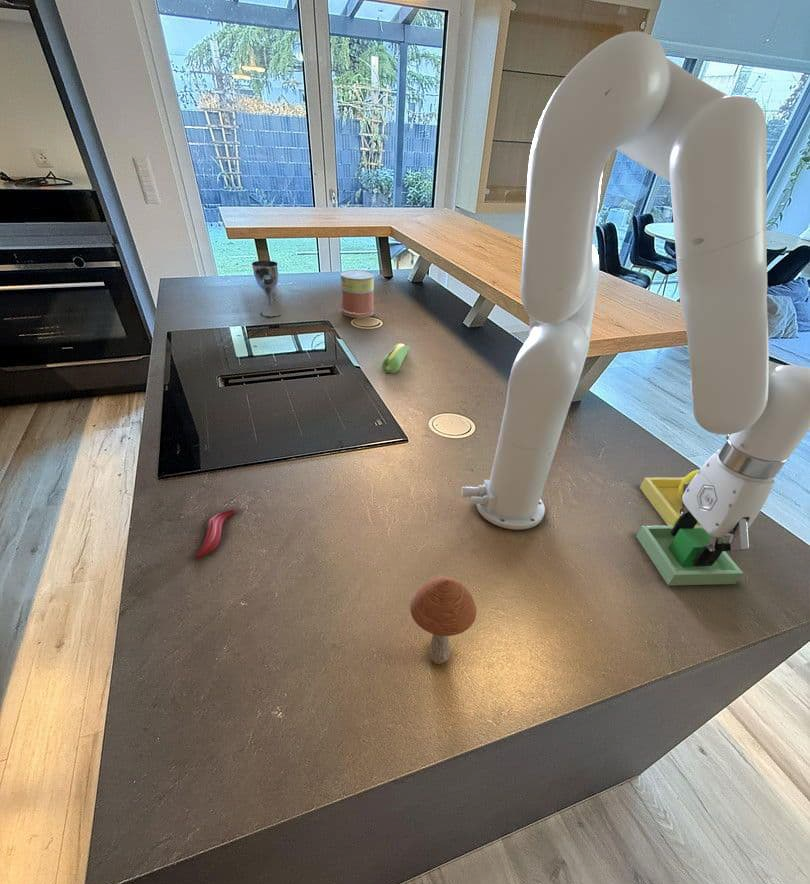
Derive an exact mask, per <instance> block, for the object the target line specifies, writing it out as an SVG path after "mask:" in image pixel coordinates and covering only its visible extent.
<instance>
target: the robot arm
mask: <svg viewBox="0 0 810 884" xmlns="http://www.w3.org/2000/svg"><path fill="white" fill-rule="evenodd" d="M615 150H616V151H618V152H619V153H621V154H623V155H625V156H626V157H627V158H629V159H630V160H632V161H634V162H635V163H636V164H638V165H640V166H642V168H645V169H647V170H648V171H650V172H651V173H653V174H654V175H656V176H658V177H659V178H661V179H663V180H665V181H667V182H669V184H670V185H669V187H670V196H671V197H670V201H671V211H672V212H671V213H672V222H673V236H674V244H675V245H674V246H675V261H676V272H677V273H676V274H677V284H678V295H679V303H680V309H681V313H682V317H683V321H684V325H685V332H686V338H687V347H688V358H689V369H690V380H689V381H690V382H689V383H690V384H689V385H690V396H691V400H692V401H691V402H692V413H693V417H694V419H695V421H696V423H697V424H698V425H699V426H700V427H701V428H702V429H703V430H704V431H707V432H709V433H711V434H715V435H721V436H722V435H723V436H726V437H725V439H726V440H725V443H724V445H723V446H722V447H721V449H718V450H716V451H715V452H714V453H712V455H711V456H709V458H708V459H706V461H705V462H704V463H703V464H702V466H701V467H700V468H699V469H698V470H699V471H698V472H697V474H696V475H695V477H694V478H693V479H692V481H691V482H689V483H684V485H683V496H682V508H681V509H680V515H681V516H680V517H679V519H678V521H677V522H676V524H675V526H674V527H673V529H672V531H671V532H670V533H671V535H672V536H676V534H677V533H678V531H679V529H693V528H694V527H695V525H696V524H697V522H699V523H700V525H701V526H702V527H703V528H704V529H705V531H706V532H707V533H708V534H709V535H711V536H710V540H709V544H708V546H704V547H703V548H702V549H701V551H700V552H699V554H698V555H697V556H696V558H695V559H694V561H693V565H694V566H712V565H713V564H714V563H715V561H716V560H717V559H718V557H719V556H720V555H721V553H722V552H723V551H725V552H742V551H744V552H745V551H748V550H749V547H750V546H749V545H750V544H749V532H748V531H749V528H750V527H751V525H752V524H753V522H755V520H756V518H757V517H758V515H759V513H760V512H761V510H762V509H763V508H764V505H765V504H766V502H767V500H768V498H769V497H770V494H771V493H772V489H773V487H774V485H775V478H776V476H777V474H778V473H779V472H780V471H781V469H782V468H783V467H784V465H785V464H786V463H787V461H788V460H789V458H790V457H791V456H792V454H793V453H794V451H796V449H797V448H798V446H799V445H800V443H801V442H802V441H803V440H804V438H805V437H806V435H807V434H808V433H809V431H810V367H808V366H802V365H797V364H796V365H794V364H785V365H784V364H780V363H777V362H774V361H771V360H770V347H769V346H770V345H769V343H770V342H769V341H770V340H769V319H768V318H769V316H768V263H767V262H768V261H767V260H768V259H767V255H768V254H767V253H768V250H767V197H768V196H767V192H768V191H767V189H768V188H767V185H768V183H767V181H768V133H767V122H766V116H765V113H764V110H763V109H762V107H761V106H760V105H759V103H758V102H757V101H755V100H754V99H752V98H750V97H747V96H745V95H729V94H727V93H724V92H722V91H721V90H719V89H717V88H716V87H713V86H712V85H710V84H709V83H706V81H704V80H701V79H700V78H698V77H697V76H696V75H693V73H691V72H690V71H687V70H686V69H684V68H683V67H681V65H678V64H676V63H675V62H673V61H672V60H671V59H669V58H668V57H667V55H666V52H665V49H664V48H663V46H662V45H661V44H660V42H659V41H658V40H657V38H655V37H653V36H652V35H650V34H649V33H646V32H643V31H640V30H639V31H637V30H633V31H626V32H623V33H619V34H616V35H614V36H612V37H610V38H608V39H607V40H604V42H603V41H602V43H600V44H599V45H598V46H596V47H595V48H594V49H592V50H590V52H589V53H587V54H586V55H585V56H584V57H583V58H582V59H581V60H580V61H579V62H578V63H576V64H575V66H573V68H572V69H570V70H569V72H568V73H567V74H566V76H565V77H563V79H562V80H561V81H560V83H559V84H558V86H557V87H556V89H555V90H554V92H553V93H552V95H551V97H550V98H549V100H548V102H547V104H546V105H545V108H544V110H543V111H542V114H541V117H540V119H539V120H538V124H537V127H536V129H535V133H534V136H533V139H532V144H531V148H530V154H529V160H528V168H527V181H526V196H525V197H526V198H525V200H526V201H525V215H524V224H523V225H524V226H523V241H522V242H523V245H522V262H521V263H522V264H521V276H520V286H519V287H520V288H519V289H520V291H519V292H520V300H521V304H522V306H523V309H524V311H525V312H526V314H527V315H528V316H529V332H528V338H527V339H526V340H525V341H524V343H523V345H522V346H521V348H520V349H519V351H518V353H517V355H516V357H515V359H514V361H513V364H512V367H511V370H510V375H509V379H508V386H507V393H506V401H505V407H504V412H503V415H502V422H501V426H500V432H499V436H498V441H497V445H496V450H495V454H494V459H493V463H492V467H491V473H490V476H489V479H484V480H483V484H479V485H477V486H461V488H460V495H461V498H469V503H470V505H476V509H477V511H478V513H479V514H480V515H481V516H482V517H483V518H484V519H485V520H487V521H488V522H489V523H491V524H492V525H494V526H497V527H500V528H503V529H508V530H514V531H515V530H528V529H531V528H534V527H536V526H537V525H539V524H540V523H541V522H542V521H543V519H544V516H545V513H546V507H545V504H544V502H543V500H542V498H541V497H542V494H543V491H544V488H545V485H546V481H547V479H548V476H549V473H550V469H551V466H552V464H553V460H554V457H555V455H556V452H557V451H556V450H557V448H558V445H559V441H560V438H561V434H562V432H563V428H564V426H565V422H566V419H567V416H568V413H569V411H570V408H571V404H572V401H573V398H574V396H575V393H576V392H577V391H576V390H577V388H578V384H579V381H580V378H581V375H582V372H583V370H584V366H585V362H586V360H587V356H588V353H589V348H590V342H591V338H592V337H591V336H592V328H593V321H594V313H595V307H596V306H595V305H596V299H597V298H596V297H597V290H598V283H599V274H600V258H599V254H598V250H597V249H596V247H595V245H594V243H595V234H596V233H595V232H596V225H597V223H596V222H597V217H598V211H599V205H600V197H601V186H602V178H603V174H604V170H605V167H606V165H607V163H608V160H609V158H610V157H611V155H612V154H613V152H614V151H615ZM720 537H721V538H722V541H721V543H720V541H719V540H720Z"/></svg>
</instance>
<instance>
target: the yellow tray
mask: <svg viewBox="0 0 810 884" xmlns="http://www.w3.org/2000/svg"><path fill="white" fill-rule="evenodd" d="M684 478H685V477H644V478H643V481H642V482H641V484H640V486H639V489H640V491H641V492H642V493H643V494H644V496H645V497H646V498H647V499H648V501H649V502H650V504H651V506H653V507H654V509H655V510H656V512H657V513H658V514H659V516H660V517H661V519H662V520H663V521H664V523H665V524H666V526H675V524H676V522H677V521H678V519H679V517H680V516H681V515H680V509H681V508H682V500H681V499H680V497H679V495H678V489H679V486H680V484H681V482H682V480H683V479H684ZM696 525H699V526H700V523H699V522H697V524H696Z"/></svg>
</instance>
